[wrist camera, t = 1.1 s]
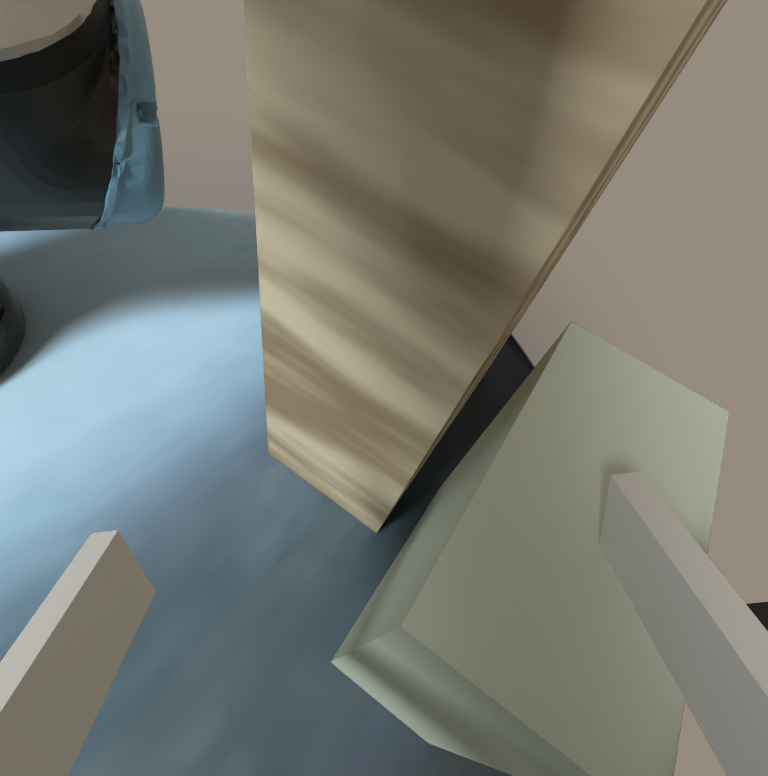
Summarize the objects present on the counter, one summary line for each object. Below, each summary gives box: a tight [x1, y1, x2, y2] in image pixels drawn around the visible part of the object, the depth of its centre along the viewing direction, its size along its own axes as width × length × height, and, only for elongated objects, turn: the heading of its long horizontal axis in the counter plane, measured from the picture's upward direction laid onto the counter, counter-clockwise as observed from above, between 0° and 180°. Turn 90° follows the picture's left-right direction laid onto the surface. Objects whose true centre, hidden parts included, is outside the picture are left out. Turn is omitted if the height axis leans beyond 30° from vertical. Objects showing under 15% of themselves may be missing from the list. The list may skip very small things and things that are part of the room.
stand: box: [243, 0, 728, 534], centre depth 25 cm, size 18×10×30 cm, turn 146°
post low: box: [331, 322, 729, 776], centre depth 22 cm, size 14×7×19 cm, turn 146°
